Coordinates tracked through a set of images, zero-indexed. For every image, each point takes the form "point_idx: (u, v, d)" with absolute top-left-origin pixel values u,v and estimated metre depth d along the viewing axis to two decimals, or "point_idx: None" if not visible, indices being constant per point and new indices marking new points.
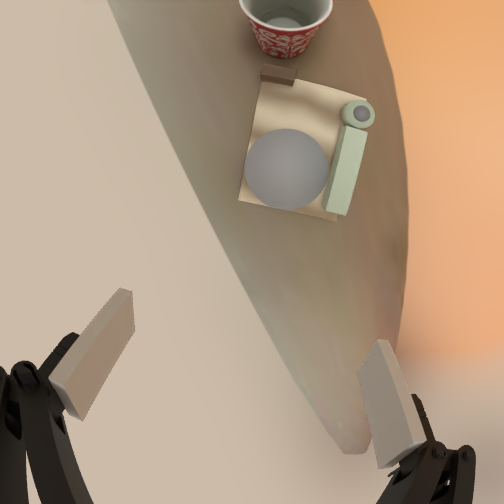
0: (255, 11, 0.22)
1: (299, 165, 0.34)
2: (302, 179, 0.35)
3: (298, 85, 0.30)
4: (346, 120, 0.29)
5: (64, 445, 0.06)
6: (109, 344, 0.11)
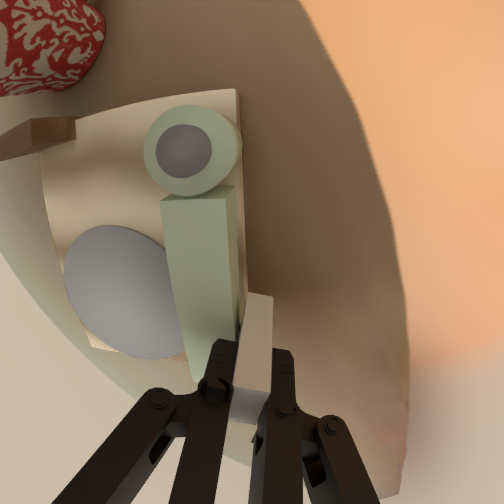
0: None
1: (138, 292, 0.17)
2: (154, 314, 0.17)
3: (84, 130, 0.13)
4: None
5: None
6: None
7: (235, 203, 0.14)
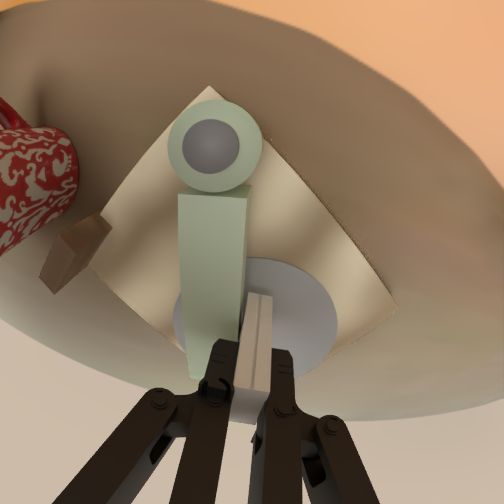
0: None
1: None
2: (289, 324, 0.17)
3: (114, 215, 0.15)
4: None
5: None
6: None
7: None
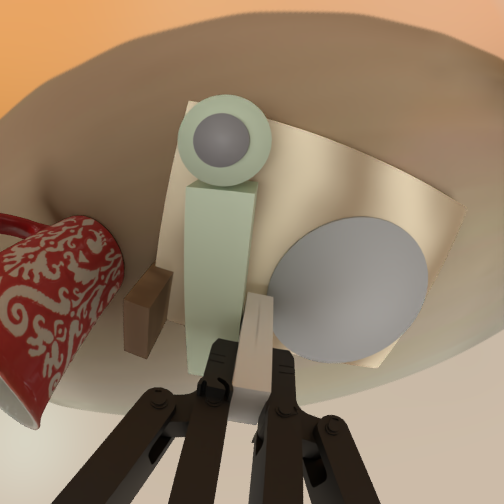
0: None
1: (350, 279, 0.15)
2: (380, 275, 0.15)
3: (169, 259, 0.16)
4: None
5: None
6: None
7: None
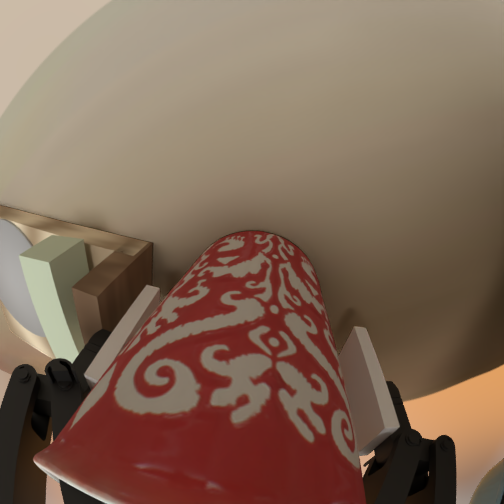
0: None
1: (25, 301, 0.16)
2: (16, 302, 0.17)
3: None
4: None
5: None
6: None
7: None
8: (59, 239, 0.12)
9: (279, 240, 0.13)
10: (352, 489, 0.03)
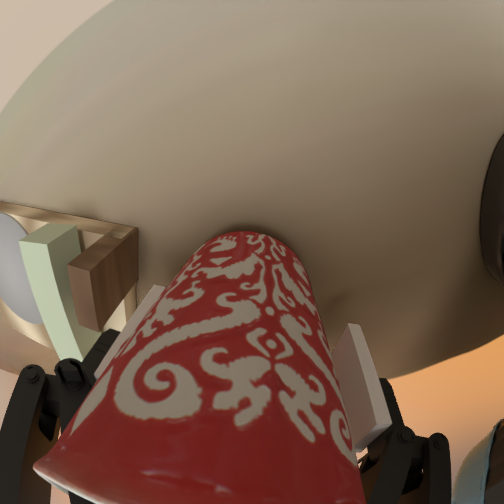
0: None
1: (20, 289, 0.17)
2: (12, 292, 0.17)
3: None
4: None
5: None
6: None
7: None
8: (54, 226, 0.14)
9: (271, 240, 0.14)
10: (353, 486, 0.03)
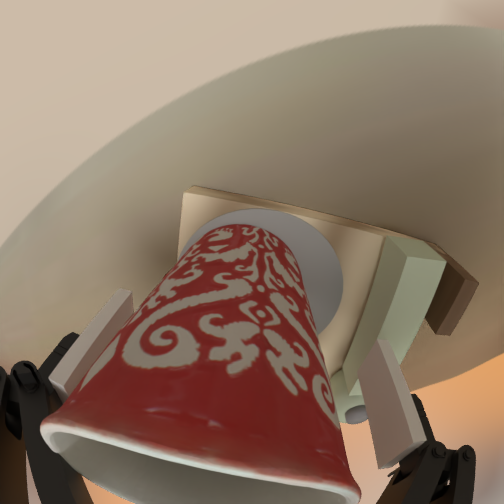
0: None
1: None
2: None
3: None
4: None
5: None
6: None
7: (345, 359, 0.19)
8: (405, 240, 0.14)
9: (264, 233, 0.15)
10: (334, 443, 0.05)
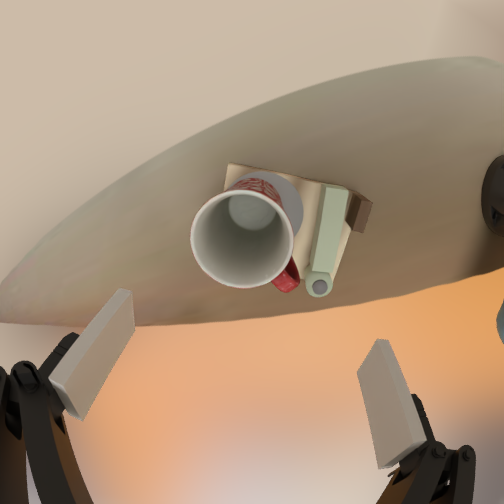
0: None
1: None
2: None
3: (345, 226, 0.36)
4: None
5: (64, 445, 0.06)
6: (109, 344, 0.11)
7: (310, 255, 0.37)
8: (331, 184, 0.33)
9: (264, 180, 0.33)
10: None
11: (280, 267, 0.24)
